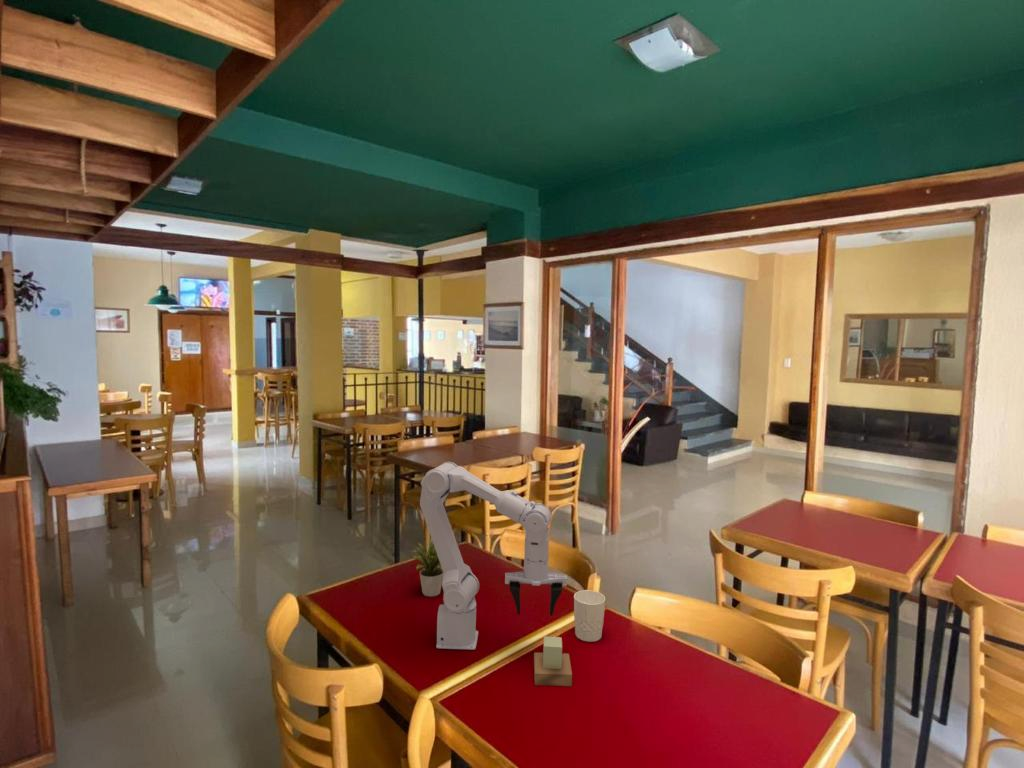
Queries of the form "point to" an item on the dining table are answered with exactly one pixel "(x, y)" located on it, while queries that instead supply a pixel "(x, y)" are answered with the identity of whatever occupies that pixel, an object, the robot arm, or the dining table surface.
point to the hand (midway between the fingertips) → (534, 613)
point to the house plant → (430, 570)
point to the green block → (552, 652)
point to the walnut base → (552, 672)
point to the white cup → (589, 615)
